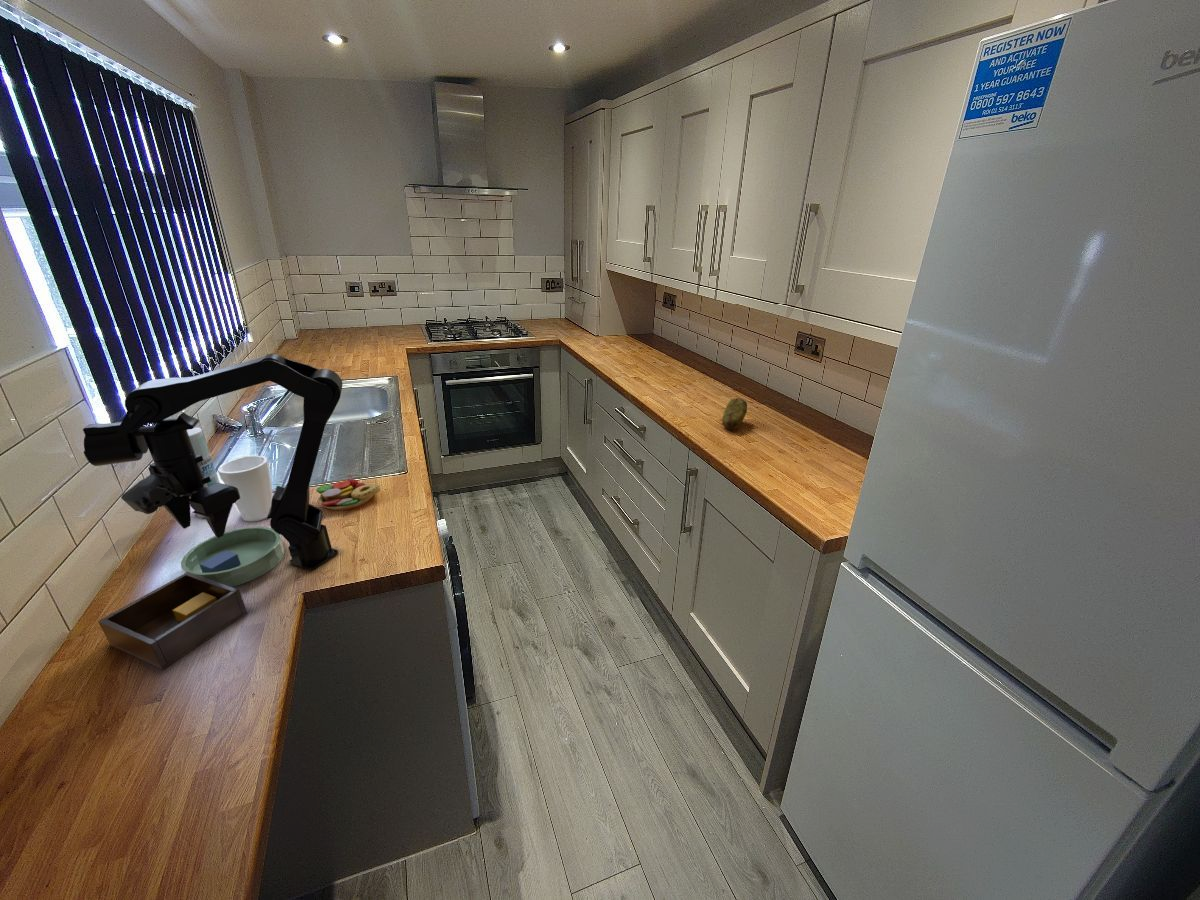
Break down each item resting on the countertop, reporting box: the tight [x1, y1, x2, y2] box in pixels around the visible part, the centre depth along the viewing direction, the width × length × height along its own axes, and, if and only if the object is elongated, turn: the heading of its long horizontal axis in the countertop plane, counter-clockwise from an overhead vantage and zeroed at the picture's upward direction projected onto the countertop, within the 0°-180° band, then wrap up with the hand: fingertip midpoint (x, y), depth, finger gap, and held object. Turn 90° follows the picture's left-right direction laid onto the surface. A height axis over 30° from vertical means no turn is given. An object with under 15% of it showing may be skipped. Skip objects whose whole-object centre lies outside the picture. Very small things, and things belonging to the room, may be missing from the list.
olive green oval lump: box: [721, 397, 748, 431], centre depth 168 cm, size 8×13×8 cm, turn 139°
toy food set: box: [316, 478, 381, 511], centre depth 127 cm, size 13×13×3 cm
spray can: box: [187, 427, 221, 519], centre depth 120 cm, size 6×6×20 cm
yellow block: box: [173, 592, 217, 622], centre depth 90 cm, size 5×4×2 cm
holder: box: [97, 572, 248, 671], centre depth 87 cm, size 14×14×5 cm
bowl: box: [180, 526, 285, 588], centre depth 104 cm, size 16×16×4 cm
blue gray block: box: [199, 550, 241, 573], centre depth 101 cm, size 5×4×2 cm
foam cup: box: [217, 454, 274, 522], centre depth 119 cm, size 10×9×13 cm
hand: (203, 531), depth 96 cm, fingers open, 9 cm apart
